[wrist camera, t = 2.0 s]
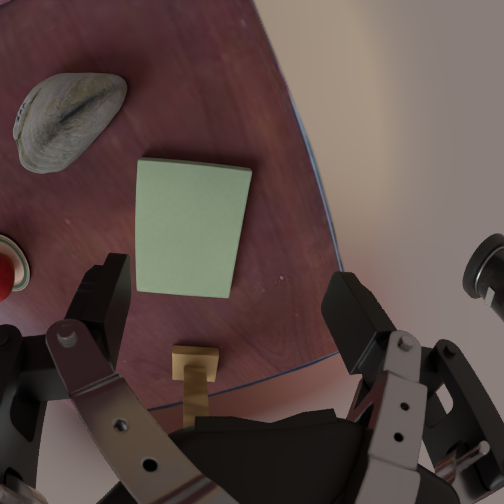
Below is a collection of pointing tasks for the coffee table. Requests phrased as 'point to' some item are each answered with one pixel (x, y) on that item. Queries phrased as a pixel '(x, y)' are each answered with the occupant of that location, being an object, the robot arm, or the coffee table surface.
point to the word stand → (194, 378)
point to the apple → (12, 268)
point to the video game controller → (3, 1)
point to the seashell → (65, 118)
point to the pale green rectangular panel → (188, 225)
